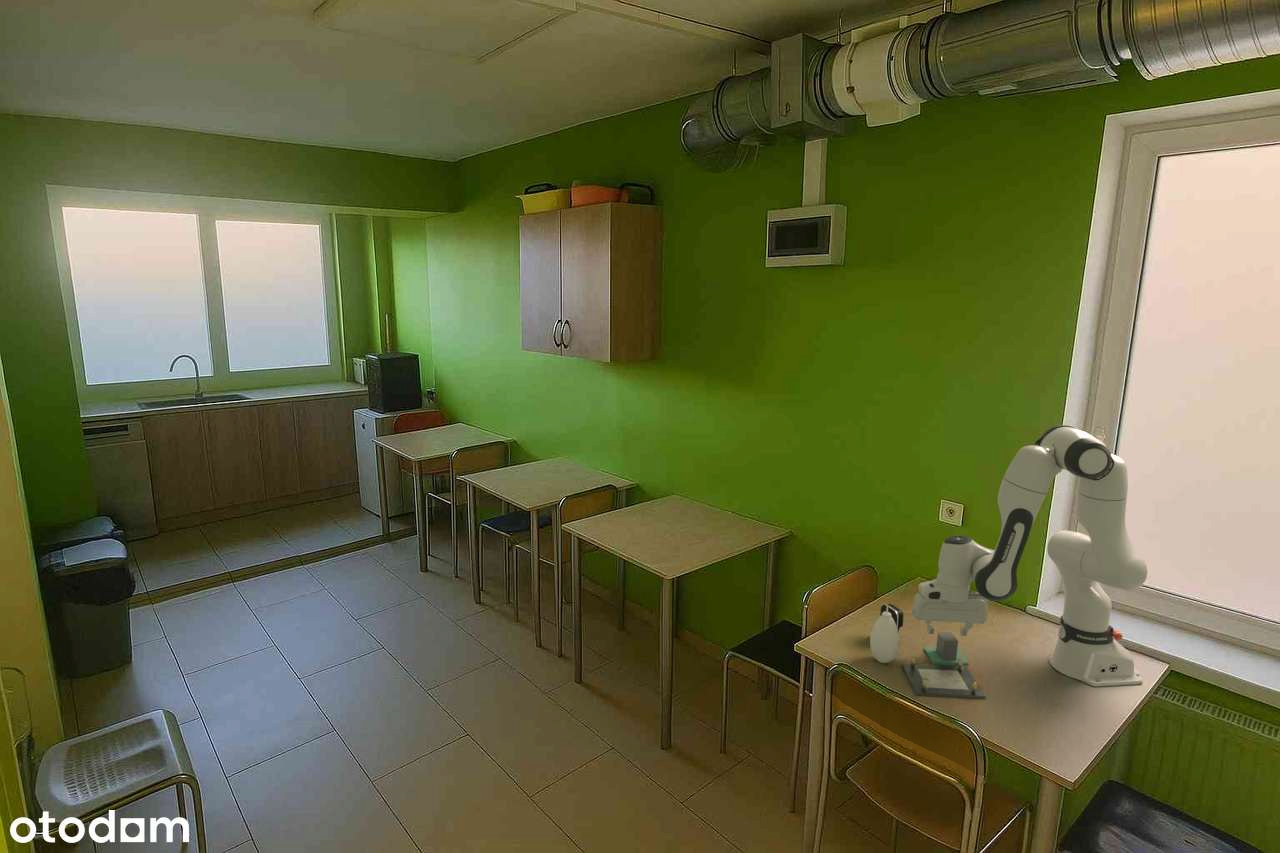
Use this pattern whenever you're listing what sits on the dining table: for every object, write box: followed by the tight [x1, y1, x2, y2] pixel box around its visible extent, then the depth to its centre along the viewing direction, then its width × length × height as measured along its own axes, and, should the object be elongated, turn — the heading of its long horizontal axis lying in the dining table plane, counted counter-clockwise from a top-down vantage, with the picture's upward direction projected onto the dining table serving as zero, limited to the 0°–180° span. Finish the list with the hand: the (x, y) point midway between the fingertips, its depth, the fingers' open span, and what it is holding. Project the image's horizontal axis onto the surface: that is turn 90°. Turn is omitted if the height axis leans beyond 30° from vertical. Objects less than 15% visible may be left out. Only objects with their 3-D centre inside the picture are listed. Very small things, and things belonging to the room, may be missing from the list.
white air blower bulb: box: [869, 605, 900, 664], centre depth 202 cm, size 8×8×18 cm
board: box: [923, 631, 970, 666], centre depth 205 cm, size 10×8×7 cm
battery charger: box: [879, 603, 904, 633], centre depth 214 cm, size 7×4×11 cm, turn 21°
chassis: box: [901, 655, 987, 700], centre depth 193 cm, size 18×14×4 cm
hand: (946, 633), depth 204 cm, fingers open, 8 cm apart
